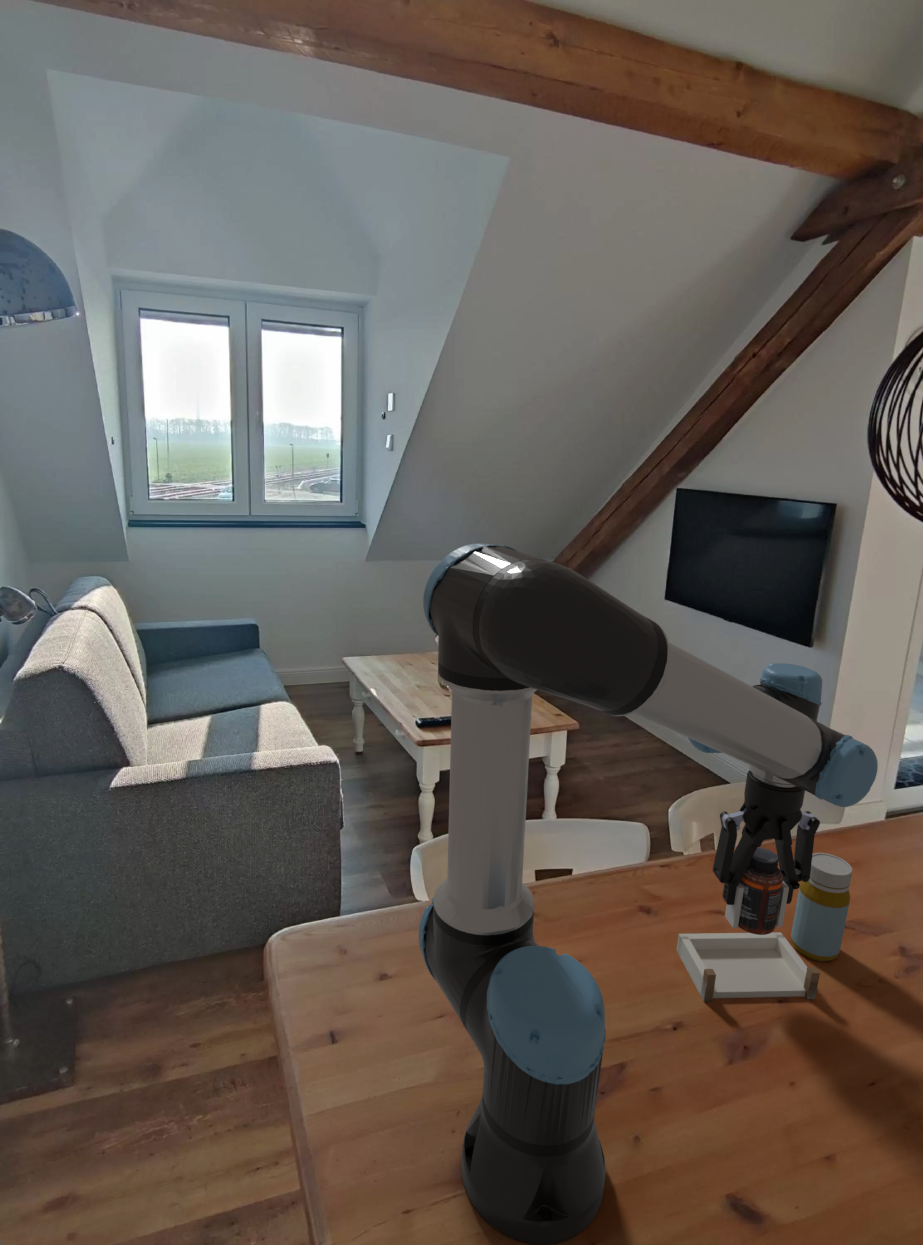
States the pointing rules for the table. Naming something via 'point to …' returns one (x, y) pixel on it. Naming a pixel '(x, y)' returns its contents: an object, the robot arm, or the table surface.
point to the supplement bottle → (761, 893)
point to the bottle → (822, 908)
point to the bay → (745, 966)
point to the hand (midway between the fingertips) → (753, 921)
